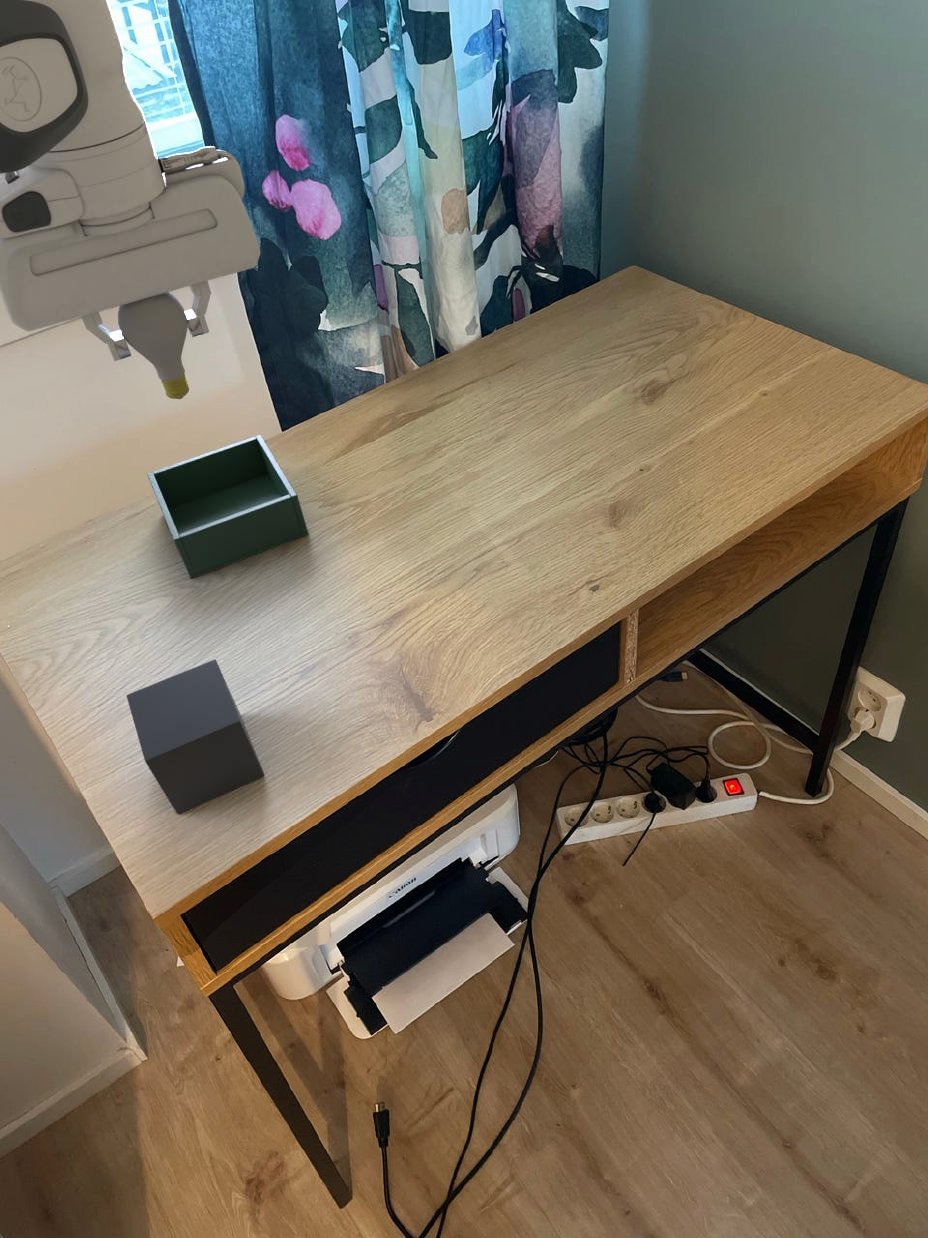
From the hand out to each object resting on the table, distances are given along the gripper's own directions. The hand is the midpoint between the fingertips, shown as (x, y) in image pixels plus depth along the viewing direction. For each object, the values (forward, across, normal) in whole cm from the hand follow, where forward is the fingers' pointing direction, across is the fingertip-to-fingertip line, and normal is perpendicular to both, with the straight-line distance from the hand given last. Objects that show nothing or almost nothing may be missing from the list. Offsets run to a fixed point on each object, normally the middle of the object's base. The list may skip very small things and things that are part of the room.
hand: (160, 344), depth 76 cm
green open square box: (+21, -1, -1) cm, 21 cm away
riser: (+21, +9, +27) cm, 36 cm away
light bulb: (+5, 0, 0) cm, 5 cm away
